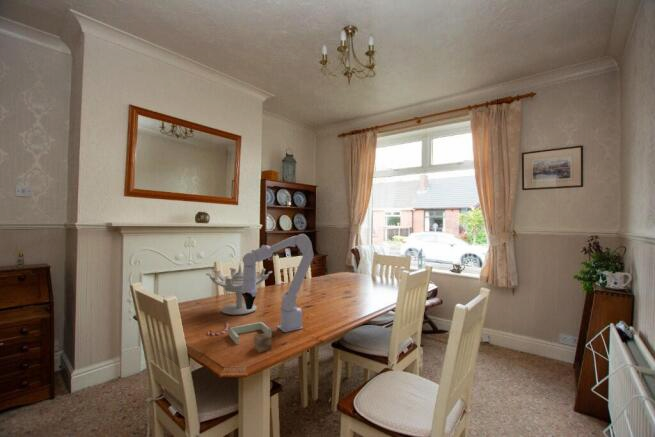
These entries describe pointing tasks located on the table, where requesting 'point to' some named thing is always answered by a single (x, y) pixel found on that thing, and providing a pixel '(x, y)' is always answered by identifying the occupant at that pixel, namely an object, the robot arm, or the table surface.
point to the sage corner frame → (248, 330)
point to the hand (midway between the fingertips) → (249, 308)
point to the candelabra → (236, 290)
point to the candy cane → (220, 332)
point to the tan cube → (262, 342)
